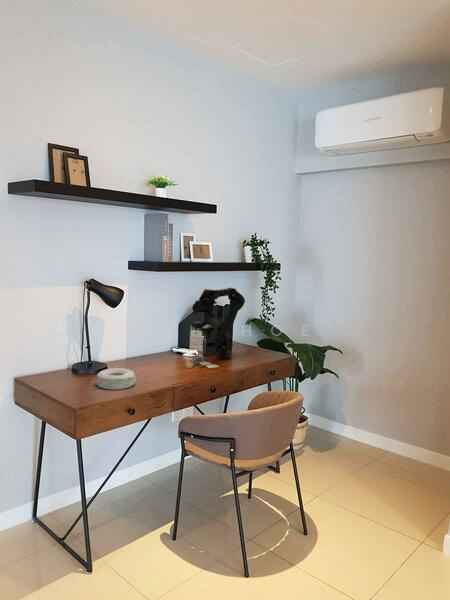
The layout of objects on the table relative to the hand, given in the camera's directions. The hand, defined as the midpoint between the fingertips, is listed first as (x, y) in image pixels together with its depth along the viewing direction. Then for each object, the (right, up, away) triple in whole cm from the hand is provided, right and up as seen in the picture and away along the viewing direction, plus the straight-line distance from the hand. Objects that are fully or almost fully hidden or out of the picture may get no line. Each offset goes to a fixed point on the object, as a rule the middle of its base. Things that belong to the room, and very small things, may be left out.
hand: (207, 339), depth 270 cm
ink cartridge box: (-7, -11, +20) cm, 24 cm away
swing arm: (-7, -13, -6) cm, 16 cm away
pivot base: (-4, -13, +1) cm, 13 cm away
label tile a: (-1, -13, -3) cm, 14 cm away
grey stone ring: (-40, -17, -49) cm, 65 cm away
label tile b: (+3, -14, -8) cm, 17 cm away
